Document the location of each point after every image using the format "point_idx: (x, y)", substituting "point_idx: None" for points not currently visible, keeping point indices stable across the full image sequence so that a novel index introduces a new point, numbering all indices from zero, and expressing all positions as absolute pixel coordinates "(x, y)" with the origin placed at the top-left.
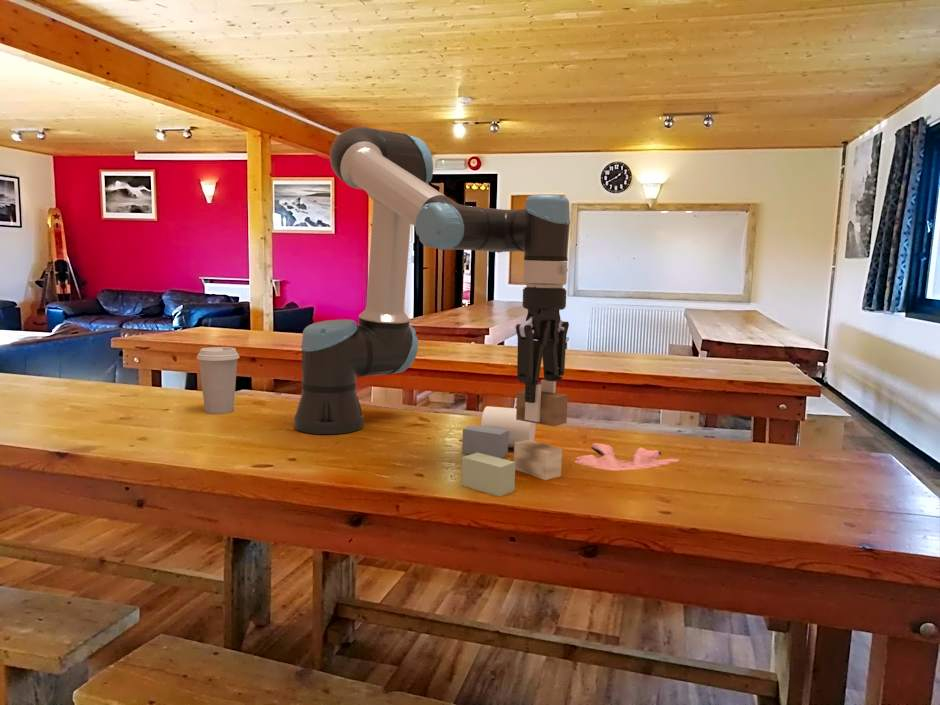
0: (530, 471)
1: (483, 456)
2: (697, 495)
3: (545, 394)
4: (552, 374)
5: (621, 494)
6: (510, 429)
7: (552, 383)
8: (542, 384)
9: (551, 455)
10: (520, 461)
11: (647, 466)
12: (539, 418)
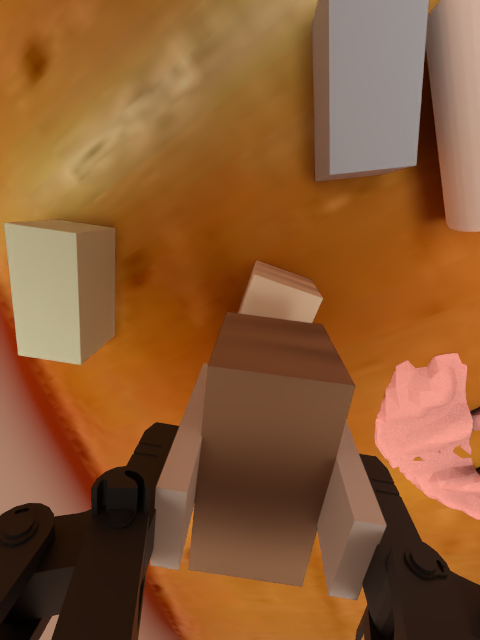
0: None
1: (56, 271)
2: (304, 579)
3: (242, 511)
4: (391, 633)
5: None
6: (457, 151)
7: (327, 576)
8: (343, 503)
9: None
10: (246, 289)
11: (437, 499)
12: None
